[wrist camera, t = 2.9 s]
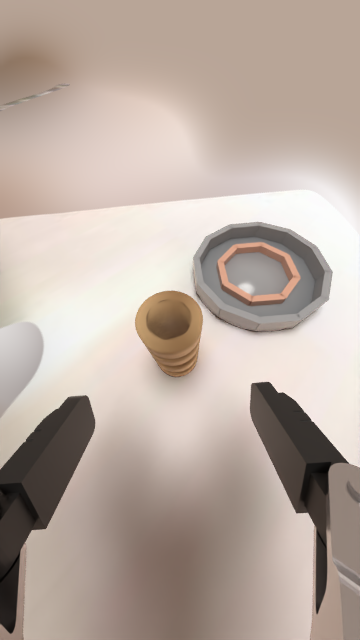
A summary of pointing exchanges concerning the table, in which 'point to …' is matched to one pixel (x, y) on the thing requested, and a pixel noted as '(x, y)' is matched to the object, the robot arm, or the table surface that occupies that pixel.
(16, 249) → the table surface
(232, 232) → the round tray
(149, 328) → the bead stack
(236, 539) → the table surface
